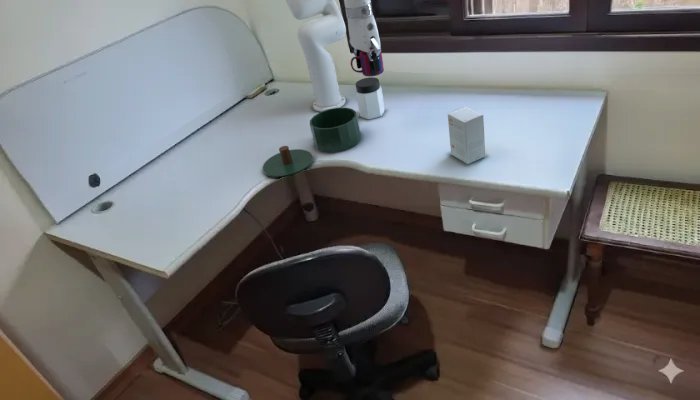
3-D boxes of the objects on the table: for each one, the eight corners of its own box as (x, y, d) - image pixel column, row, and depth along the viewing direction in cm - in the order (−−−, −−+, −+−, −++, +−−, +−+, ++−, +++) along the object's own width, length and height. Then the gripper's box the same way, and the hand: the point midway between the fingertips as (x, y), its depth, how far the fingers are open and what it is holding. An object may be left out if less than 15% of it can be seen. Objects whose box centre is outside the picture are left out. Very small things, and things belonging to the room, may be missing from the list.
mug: (386, 73, 159) (383, 51, 155) (354, 80, 158) (350, 59, 154) (381, 66, 164) (378, 45, 161) (350, 73, 164) (346, 52, 160)
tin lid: (266, 157, 170) (261, 140, 167) (314, 148, 169) (310, 132, 165) (260, 182, 157) (255, 165, 153) (312, 173, 156) (307, 156, 152)
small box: (486, 156, 145) (484, 114, 138) (467, 164, 144) (464, 122, 137) (468, 146, 152) (465, 105, 145) (450, 154, 150) (446, 113, 143)
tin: (316, 135, 177) (310, 112, 173) (360, 127, 176) (355, 104, 171) (314, 156, 165) (308, 132, 160) (361, 148, 163) (357, 123, 159)
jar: (389, 111, 182) (384, 79, 175) (372, 121, 178) (366, 88, 171) (372, 106, 188) (367, 75, 181) (355, 115, 184) (349, 83, 178)
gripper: (386, 11, 145) (394, 71, 155) (353, 3, 158) (363, 60, 168) (364, 19, 142) (374, 80, 152) (333, 11, 155) (344, 67, 165)
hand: (368, 69), depth 160 cm, fingers closed on mug, 6 cm apart
